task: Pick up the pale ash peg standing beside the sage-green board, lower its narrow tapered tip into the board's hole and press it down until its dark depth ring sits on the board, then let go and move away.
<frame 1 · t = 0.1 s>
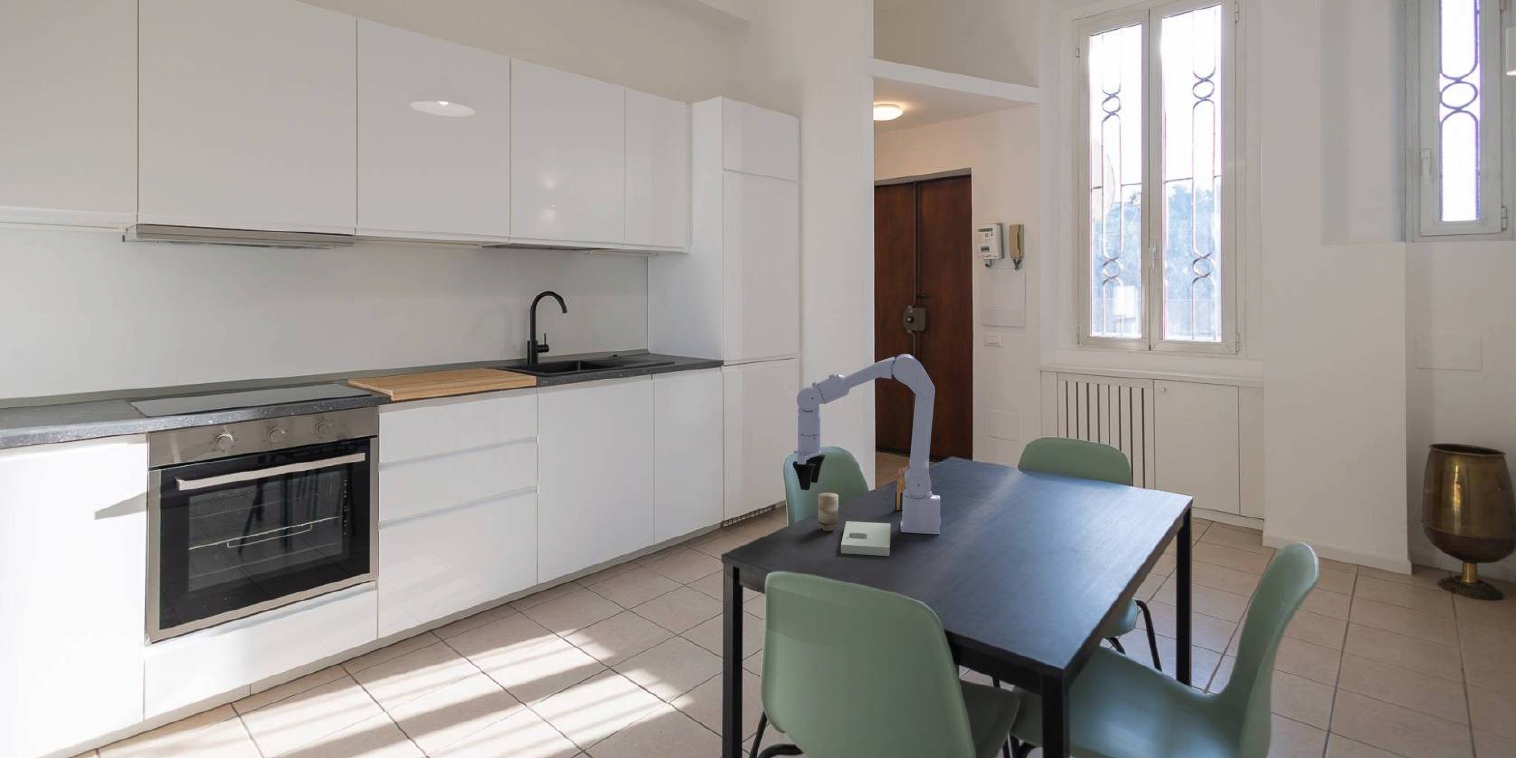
hand: (809, 486, 193), 10 cm above the table, tool pointing down, fingers open, 7 cm apart
peg: (828, 529, 190), on the table
board: (866, 541, 180), on the table
ammunition clip: (907, 507, 210), on the table
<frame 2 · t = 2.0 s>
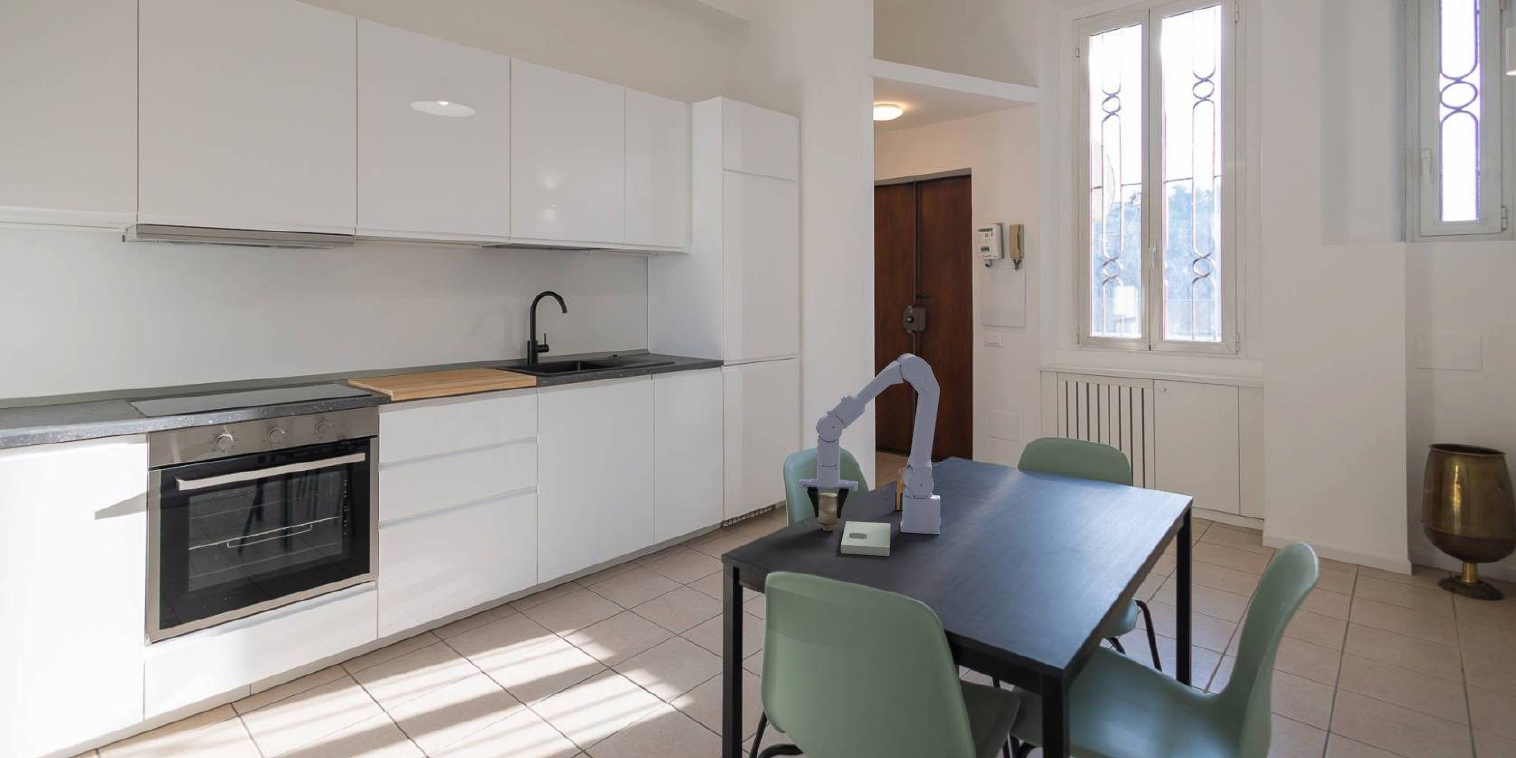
hand: (828, 516, 190), 3 cm above the table, tool pointing down, fingers closed on peg, 5 cm apart
peg: (828, 529, 190), on the table, touching gripper
everything else where it was.
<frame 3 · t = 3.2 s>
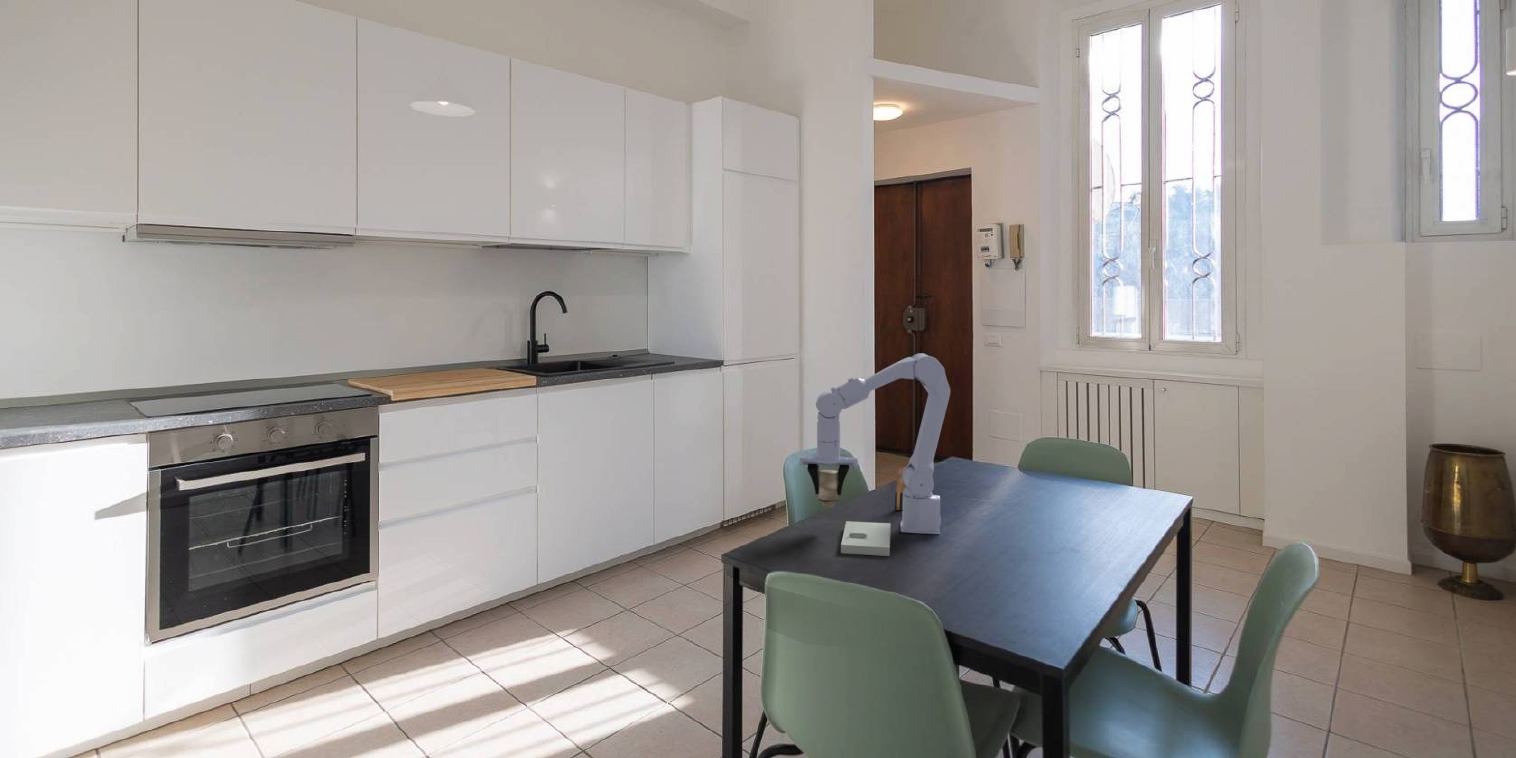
hand: (828, 493, 189), 9 cm above the table, tool pointing down, fingers closed on peg, 5 cm apart
peg: (828, 506, 189), point 6 cm above the table, touching gripper
everything else where it was.
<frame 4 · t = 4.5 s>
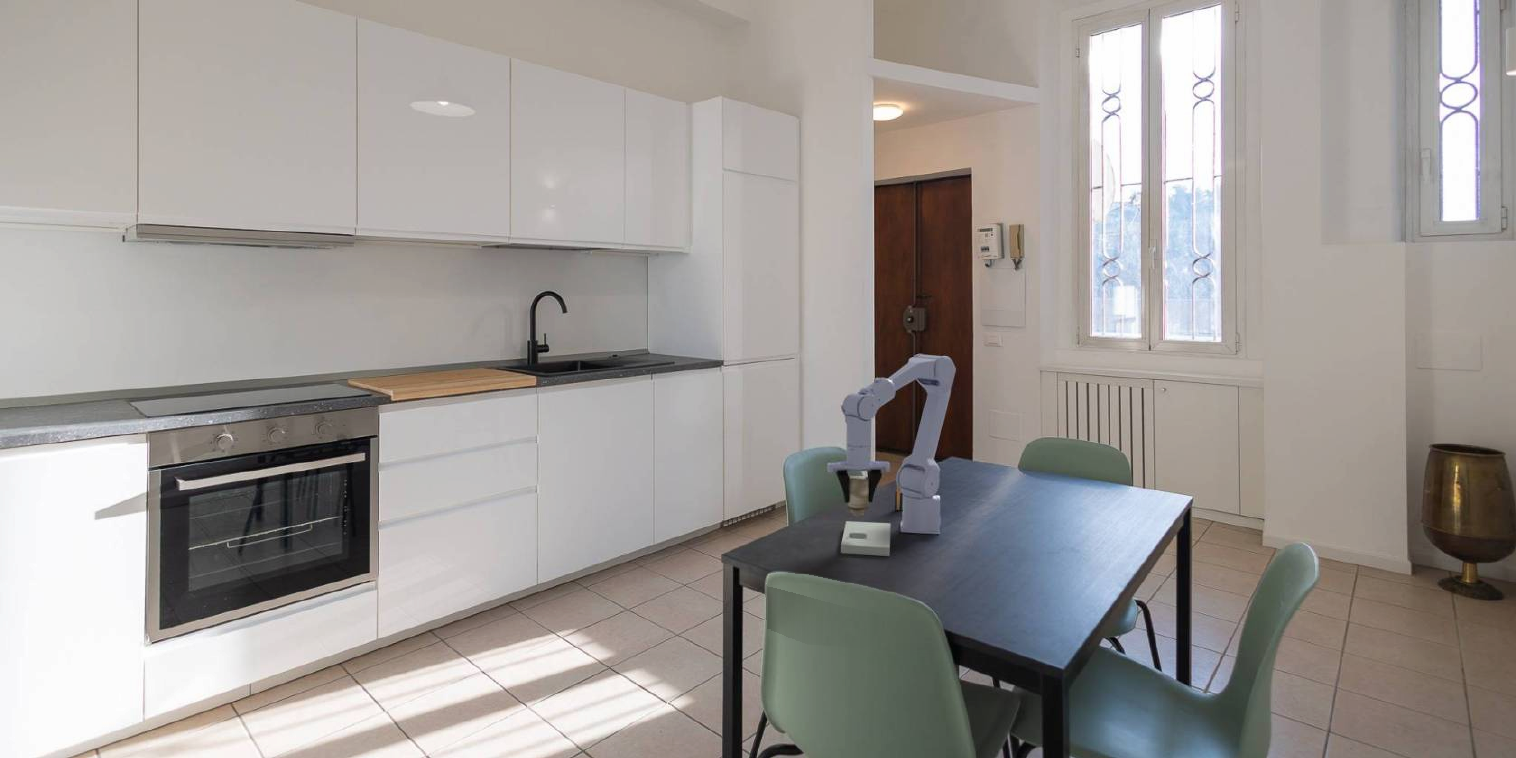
hand: (858, 501, 178), 10 cm above the table, tool pointing down, fingers closed on peg, 5 cm apart
peg: (858, 514, 178), point 7 cm above the table, touching gripper
everything else where it was.
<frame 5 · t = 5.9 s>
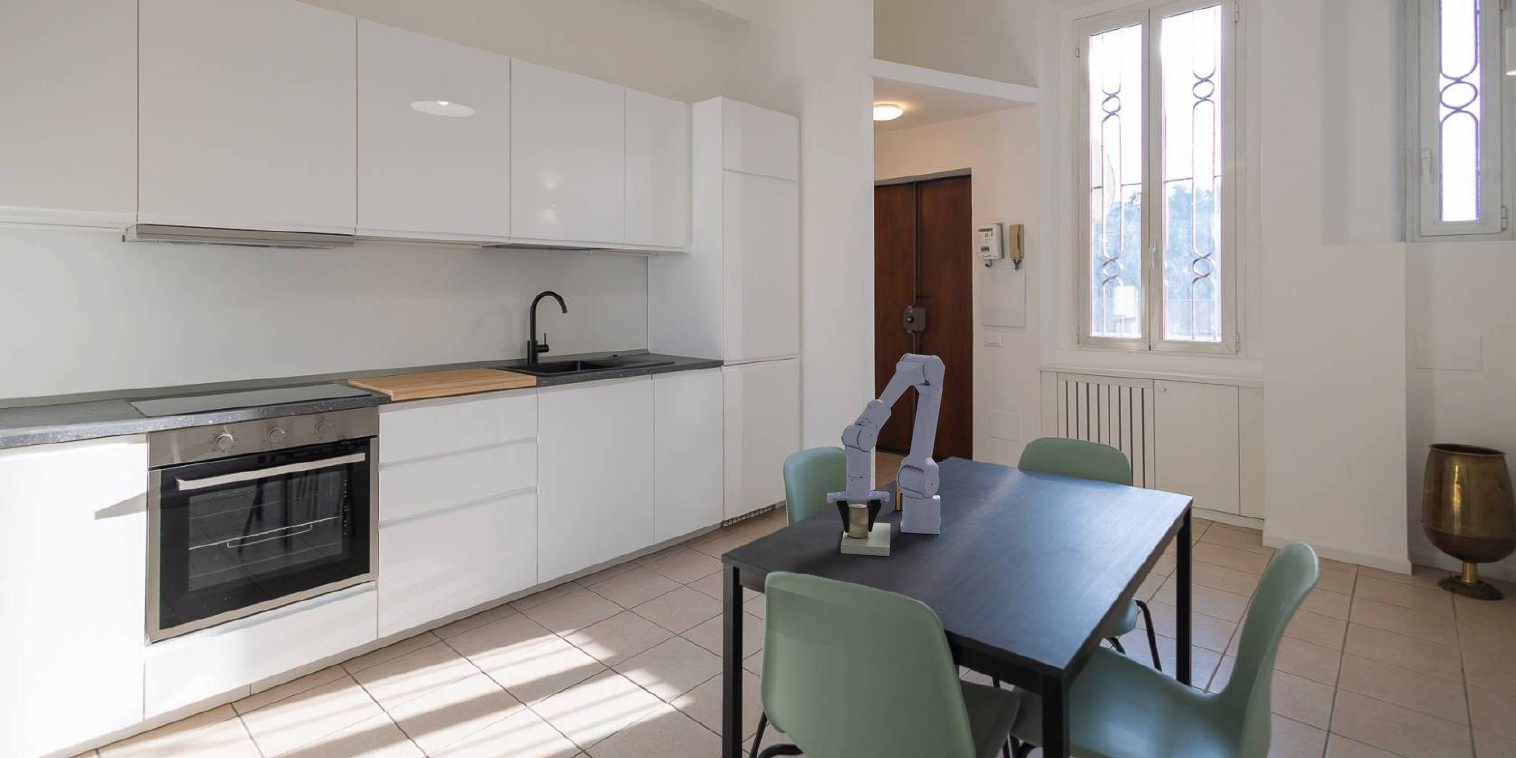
hand: (857, 531, 178), 3 cm above the table, tool pointing down, fingers closed on peg, 5 cm apart
peg: (857, 543, 179), resting in board, touching gripper
everything else where it was.
when the fingers open (3 cm above the table, at t = 7.1 s): peg stays where it is, resting on board.
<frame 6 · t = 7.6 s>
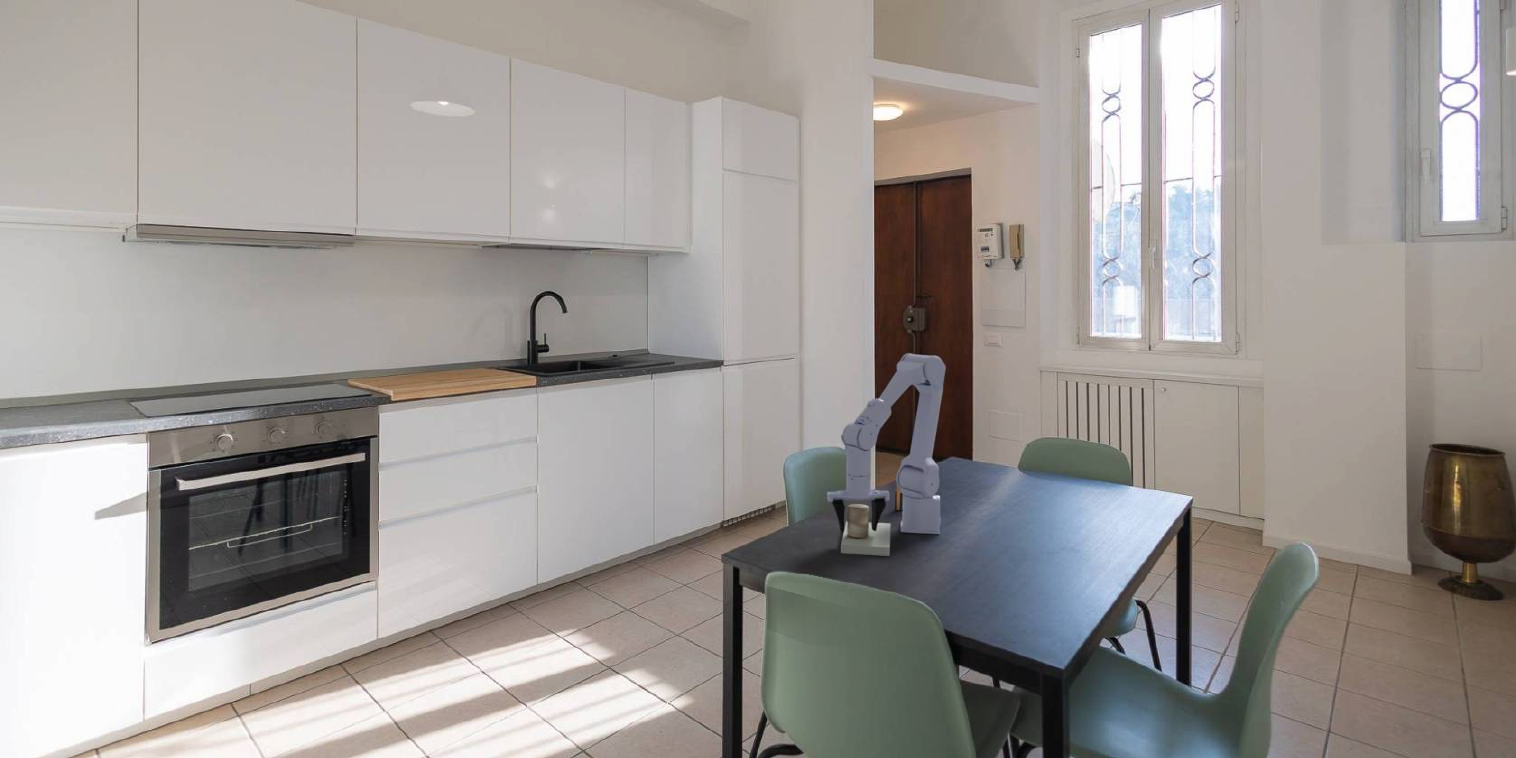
hand: (858, 530, 178), 3 cm above the table, tool pointing down, fingers open, 7 cm apart
peg: (857, 543, 179), resting on board
everything else where it was.
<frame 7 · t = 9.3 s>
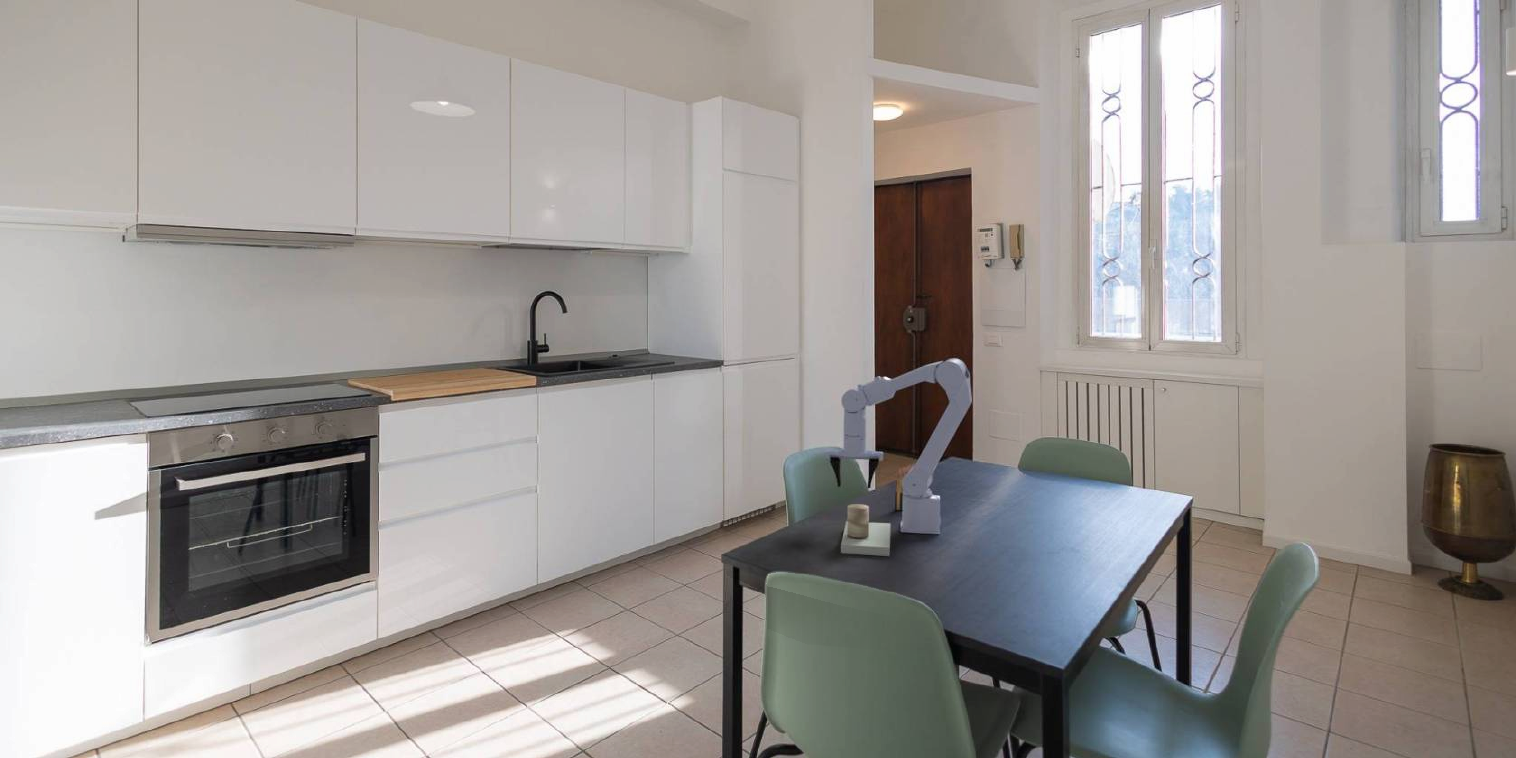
hand: (854, 486, 195), 9 cm above the table, tool pointing down, fingers open, 7 cm apart
nothing on the table moved.
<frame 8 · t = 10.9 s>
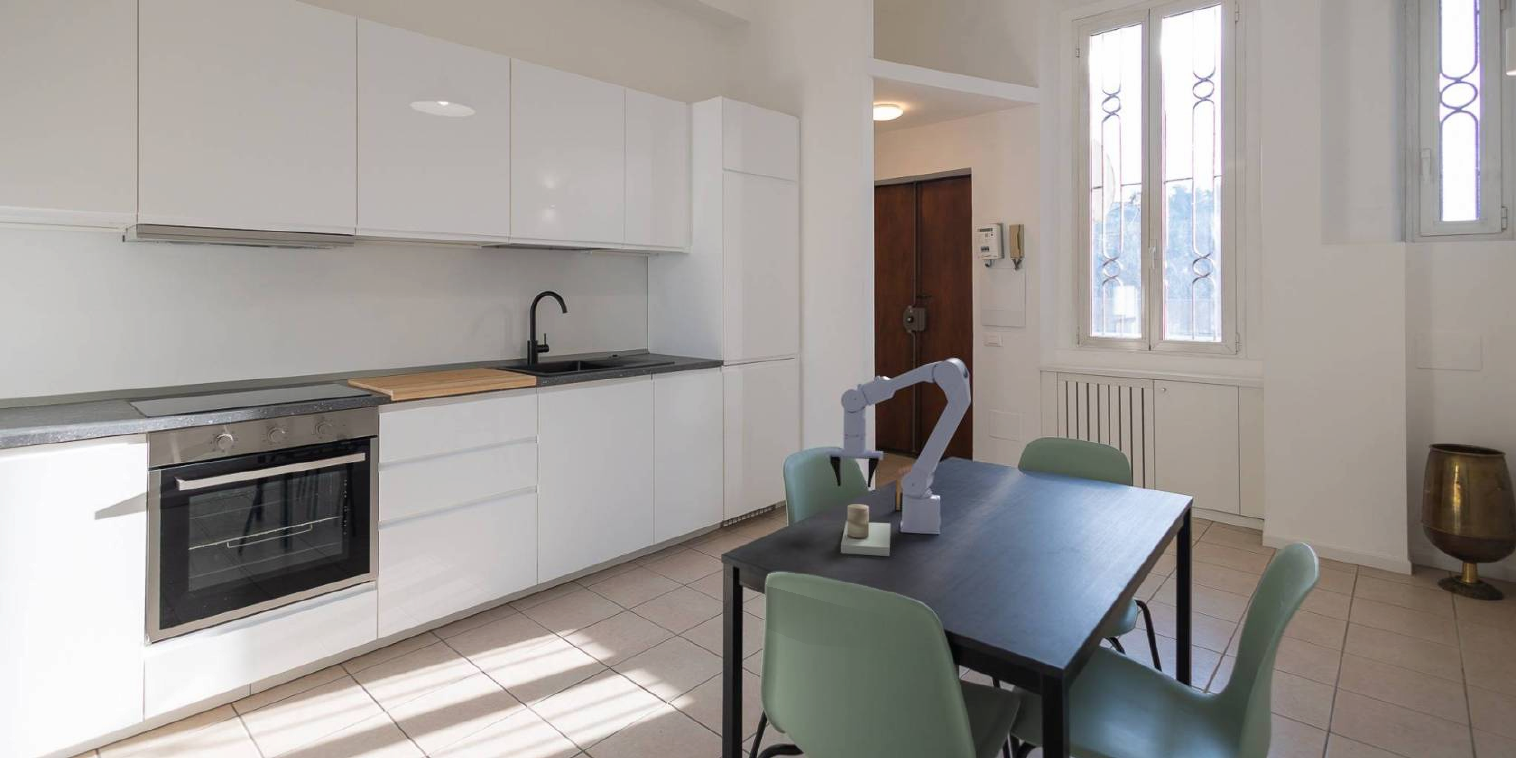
hand: (854, 485, 196), 9 cm above the table, tool pointing down, fingers open, 7 cm apart
nothing on the table moved.
at the end: peg 0.1 cm from the target spot on the board, point 0.2 cm above the board's base; peg tilted 0°; the gripper is holding nothing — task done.
